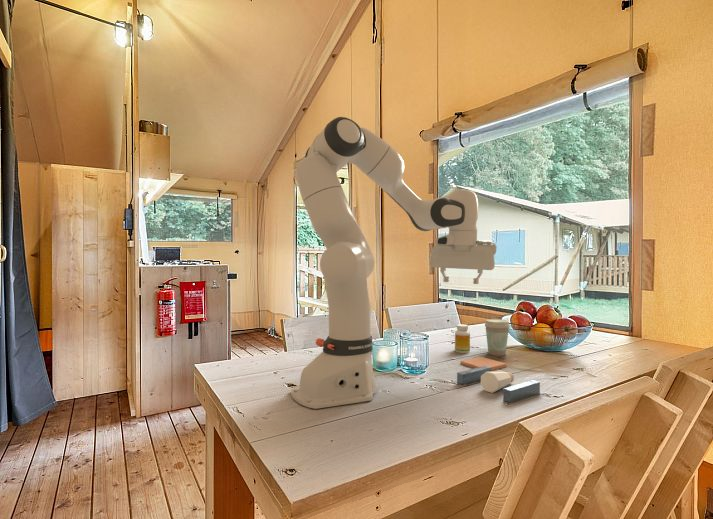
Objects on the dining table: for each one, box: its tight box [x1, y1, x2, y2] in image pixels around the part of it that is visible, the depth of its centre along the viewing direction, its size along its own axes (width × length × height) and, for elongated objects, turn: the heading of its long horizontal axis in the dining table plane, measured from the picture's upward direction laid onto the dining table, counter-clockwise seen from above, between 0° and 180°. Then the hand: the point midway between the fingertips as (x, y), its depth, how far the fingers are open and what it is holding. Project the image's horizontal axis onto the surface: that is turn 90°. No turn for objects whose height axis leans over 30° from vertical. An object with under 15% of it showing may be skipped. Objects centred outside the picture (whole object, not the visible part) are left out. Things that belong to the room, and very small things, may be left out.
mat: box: [459, 356, 507, 372], centre depth 124 cm, size 10×10×1 cm
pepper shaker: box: [480, 371, 515, 394], centre depth 104 cm, size 5×5×11 cm
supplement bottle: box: [454, 323, 471, 354], centre depth 142 cm, size 5×5×10 cm
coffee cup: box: [484, 318, 511, 357], centre depth 139 cm, size 9×8×12 cm
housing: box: [456, 366, 541, 404], centre depth 103 cm, size 12×17×3 cm
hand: (460, 282), depth 125 cm, fingers open, 8 cm apart
